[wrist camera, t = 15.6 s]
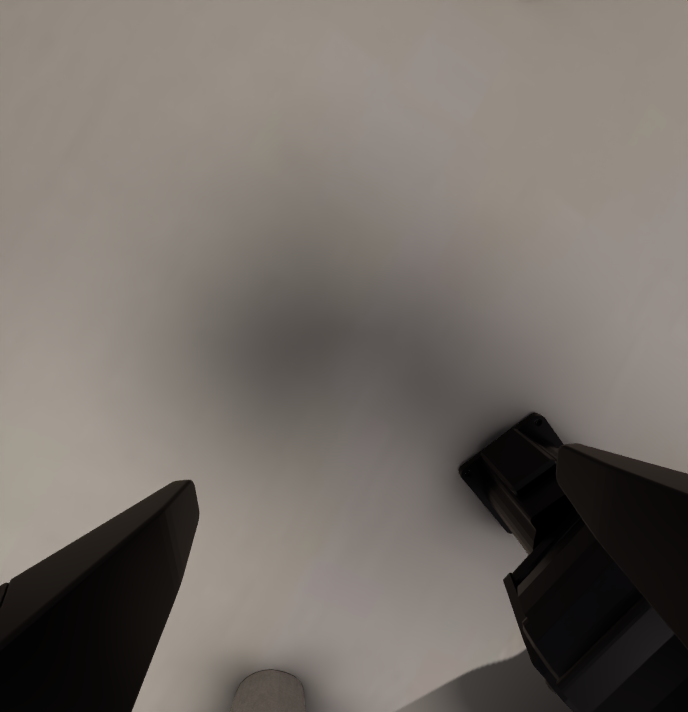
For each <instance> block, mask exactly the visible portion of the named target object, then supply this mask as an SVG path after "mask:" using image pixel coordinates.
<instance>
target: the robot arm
mask: <svg viewBox="0 0 688 712" xmlns="http://www.w3.org/2000/svg"><path fill="white" fill-rule="evenodd" d="M537 419H538V422H537V423H535V421H536V420H537ZM534 423H535V424H534ZM468 470H470V472H469V473H467V474H465V472H466V471H468ZM459 474H460V476H461V477H462V479H463V480H464V481H465V482H466V483H467V485H468V486H469V487H470V488H471V489H472V491H473V492H474V493H475V494H476V495H477V497H478V498H479V499H480V500H481V501H482V503H483V504H484V505H485V506H486V507H487V509H488V510H489V511H490V512H491V513H492V515H493V516H494V517H495V518H496V519H497V521H498V522H499V523H500V524H501V525H502V527H503V528H504V529H505V530H506V531H507V532H508V533H511V534H512V533H513V534H514V536H515V537H516V538H517V540H518V541H519V542H520V544H521V545H522V547H523V548H524V549H525V551H526V552H527V553H528V557H527V558H526V559H525V560H524V561H523V562H522V563H521V564H520V565H519V566H518V568H517V569H516V570H515V571H514V572H513V573H509V574H508V575H507V576H506V577H505V578H504V579H503V581H504V584H505V587H506V590H507V593H508V596H509V599H510V602H511V605H512V608H513V611H514V614H515V617H516V620H517V623H518V626H519V629H520V632H521V635H522V638H523V640H524V643H525V645H526V648H527V650H528V653H529V656H530V659H531V661H532V663H533V665H534V667H535V668H536V669H537V670H538V671H539V672H540V673H541V675H542V676H543V677H544V681H545V683H546V684H547V685H548V687H549V688H550V690H551V691H552V692H554V693H555V694H557V695H558V696H559V697H560V698H561V699H562V700H563V702H564V703H565V704H566V705H567V706H568V707H569V708H570V709H571V710H572V711H573V712H688V474H687V473H683V472H679V471H676V470H672V469H669V468H665V467H661V466H658V465H654V464H650V463H647V462H643V461H640V460H636V459H632V458H629V457H625V456H622V455H618V454H614V453H611V452H607V451H603V450H600V449H596V448H593V447H589V446H585V445H582V444H565V445H564V444H563V443H562V441H561V440H560V439H559V437H558V436H557V434H556V433H555V432H554V430H553V429H552V427H551V426H550V425H549V423H548V422H547V420H546V419H545V418H544V417H543V416H542V415H540V414H538V413H533V414H531V415H530V416H528V417H527V418H525V419H524V420H523V421H521V422H520V423H519V424H517V425H516V426H515V427H513V428H512V429H510V430H509V431H507V432H506V433H505V434H503V435H502V436H501V437H499V438H498V439H497V440H495V441H494V442H493V443H491V444H490V445H488V446H487V447H486V448H484V449H483V450H482V451H481V452H479V453H478V454H477V455H475V456H474V457H473V458H471V459H470V460H468V461H467V462H466V463H464V464H463V465H462V466H461V467H460V468H459ZM198 521H199V506H198V501H197V495H196V490H195V485H194V483H193V481H192V480H180V481H174V482H172V483H170V484H168V485H167V486H165V487H163V488H162V489H160V490H158V491H157V492H155V493H153V494H152V495H150V496H149V497H147V498H145V499H144V500H142V501H140V502H139V503H137V504H135V505H134V506H132V507H130V508H129V509H127V510H125V511H124V512H122V513H120V514H119V515H117V516H115V517H114V518H112V519H110V520H109V521H107V522H105V523H104V524H102V525H100V526H99V527H97V528H95V529H94V530H92V531H90V532H89V533H87V534H86V535H84V536H82V537H81V538H79V539H77V540H76V541H74V542H72V543H71V544H69V545H67V546H66V547H64V548H62V549H61V550H59V551H57V552H56V553H54V554H52V555H51V556H49V557H47V558H46V559H44V560H42V561H41V562H39V563H37V564H36V565H34V566H32V567H31V568H29V569H27V570H26V571H24V572H23V573H21V574H19V575H18V576H16V577H14V578H13V579H11V580H10V582H9V583H4V584H2V585H1V586H0V712H132V709H133V707H134V704H135V702H136V699H137V696H138V694H139V691H140V689H141V686H142V684H143V681H144V678H145V676H146V673H147V671H148V668H149V666H150V663H151V660H152V658H153V655H154V653H155V650H156V648H157V645H158V642H159V640H160V637H161V635H162V632H163V630H164V627H165V624H166V622H167V619H168V617H169V614H170V612H171V609H172V607H173V604H174V601H175V599H176V596H177V593H178V591H179V588H180V585H181V582H182V579H183V575H184V572H185V568H186V565H187V561H188V557H189V554H190V550H191V546H192V543H193V539H194V536H195V532H196V528H197V525H198Z"/></svg>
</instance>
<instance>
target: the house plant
mask: <svg viewBox="0 0 688 712" xmlns="http://www.w3.org/2000/svg"><path fill="white" fill-rule="evenodd" d="M230 712H306V711H305V701H304V691H303V687H302V685H301V683H300V681H299V680H298V679H297V678H296V677H294V676H292V675H290V674H288V673H284V672H281V671H276V670H264V671H260V672H257V673H254V674H252V675H250V676H249V677H247V678H246V679H245V680H244V681H243V682H242V683H241V684H240V686H239V687H238V689H237V692H236V695H235V698H234V701H233V704H232V707H231V710H230Z"/></svg>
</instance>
